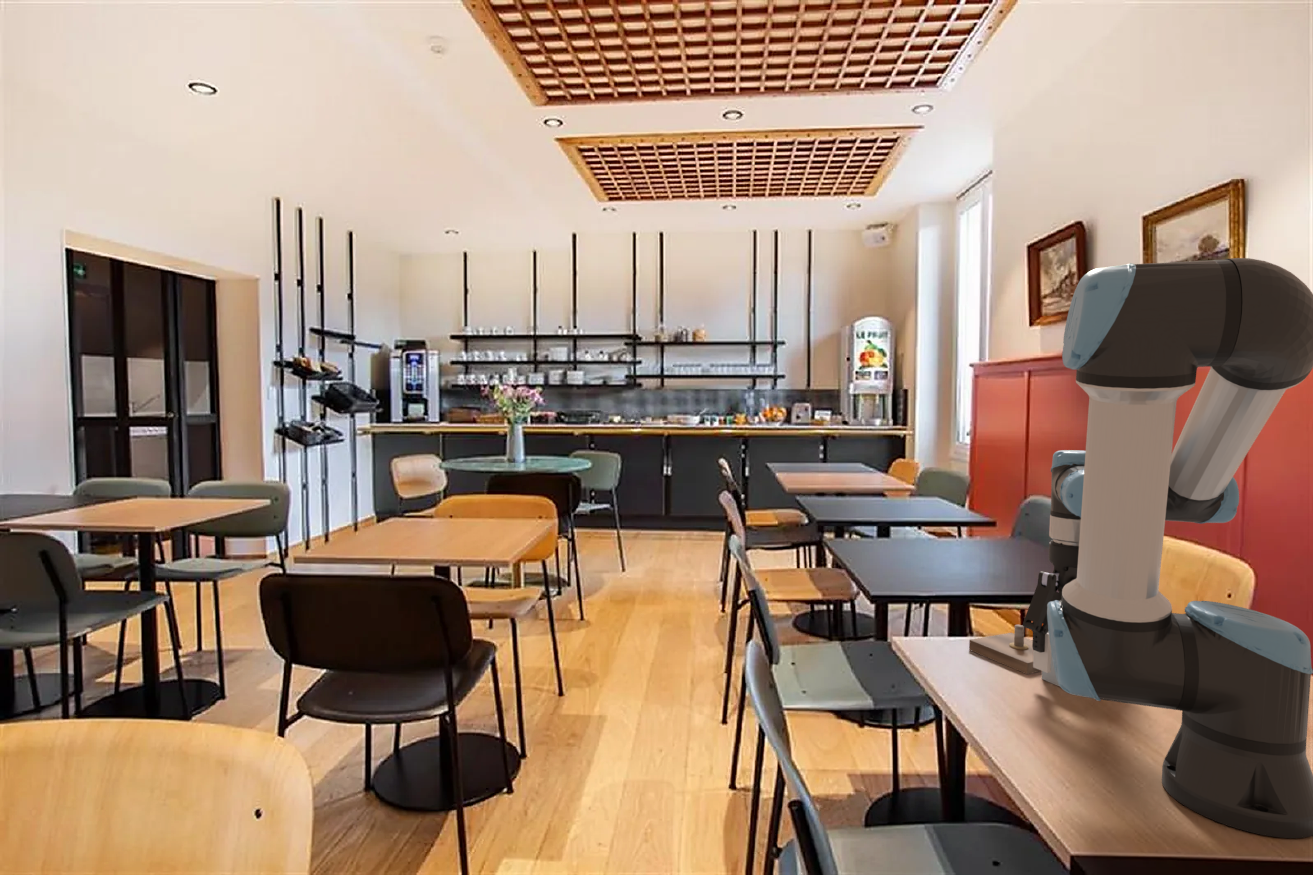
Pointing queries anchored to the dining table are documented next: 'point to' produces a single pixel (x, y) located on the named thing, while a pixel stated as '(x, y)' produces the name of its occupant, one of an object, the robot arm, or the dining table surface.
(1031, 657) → the wooden peg base
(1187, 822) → the dining table surface
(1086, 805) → the dining table surface
